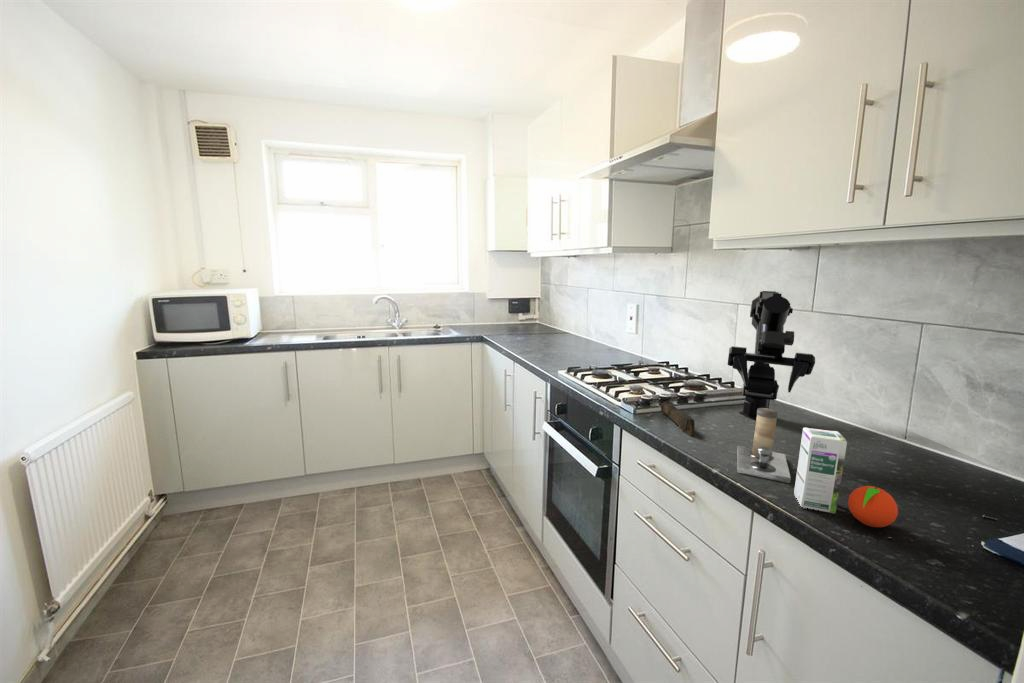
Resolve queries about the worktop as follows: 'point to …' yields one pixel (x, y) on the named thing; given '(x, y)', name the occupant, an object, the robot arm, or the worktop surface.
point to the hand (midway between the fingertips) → (767, 388)
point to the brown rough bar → (679, 417)
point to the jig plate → (754, 472)
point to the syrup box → (820, 469)
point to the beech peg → (764, 430)
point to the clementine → (873, 506)
